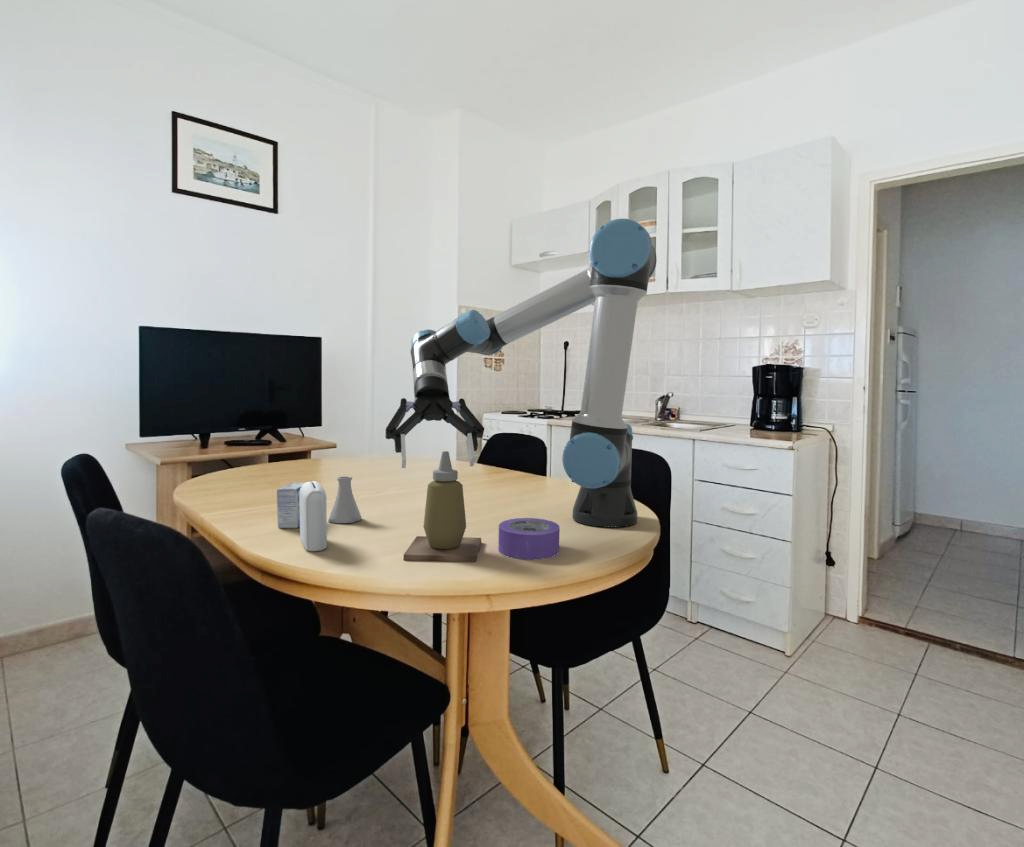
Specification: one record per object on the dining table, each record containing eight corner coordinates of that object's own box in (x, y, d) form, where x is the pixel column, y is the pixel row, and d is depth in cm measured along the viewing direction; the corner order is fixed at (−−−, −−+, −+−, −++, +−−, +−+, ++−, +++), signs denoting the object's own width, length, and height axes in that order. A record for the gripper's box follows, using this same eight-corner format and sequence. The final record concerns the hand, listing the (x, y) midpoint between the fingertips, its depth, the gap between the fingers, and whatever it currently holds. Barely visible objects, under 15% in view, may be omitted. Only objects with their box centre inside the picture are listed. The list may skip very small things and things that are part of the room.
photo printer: (298, 539, 113) (297, 478, 112) (320, 536, 115) (320, 477, 114) (305, 553, 103) (304, 487, 103) (329, 550, 105) (328, 485, 105)
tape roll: (556, 562, 101) (556, 535, 101) (492, 558, 103) (493, 531, 103) (561, 544, 113) (561, 519, 112) (504, 540, 115) (504, 516, 114)
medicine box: (297, 528, 120) (297, 489, 120) (276, 528, 120) (276, 488, 120) (311, 519, 128) (310, 482, 128) (291, 519, 128) (291, 482, 128)
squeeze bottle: (424, 539, 110) (425, 448, 109) (466, 539, 111) (467, 449, 109) (421, 552, 102) (422, 454, 101) (466, 551, 103) (467, 454, 101)
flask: (351, 525, 124) (351, 481, 123) (322, 523, 125) (321, 479, 124) (366, 517, 131) (366, 475, 130) (338, 515, 132) (338, 474, 131)
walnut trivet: (481, 542, 112) (481, 537, 112) (475, 561, 100) (475, 556, 100) (416, 541, 112) (416, 536, 112) (403, 560, 101) (403, 554, 100)
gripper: (483, 397, 130) (497, 472, 117) (373, 397, 124) (374, 476, 111) (488, 374, 124) (503, 450, 111) (372, 373, 118) (373, 453, 105)
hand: (438, 463), depth 111 cm, fingers open, 13 cm apart
